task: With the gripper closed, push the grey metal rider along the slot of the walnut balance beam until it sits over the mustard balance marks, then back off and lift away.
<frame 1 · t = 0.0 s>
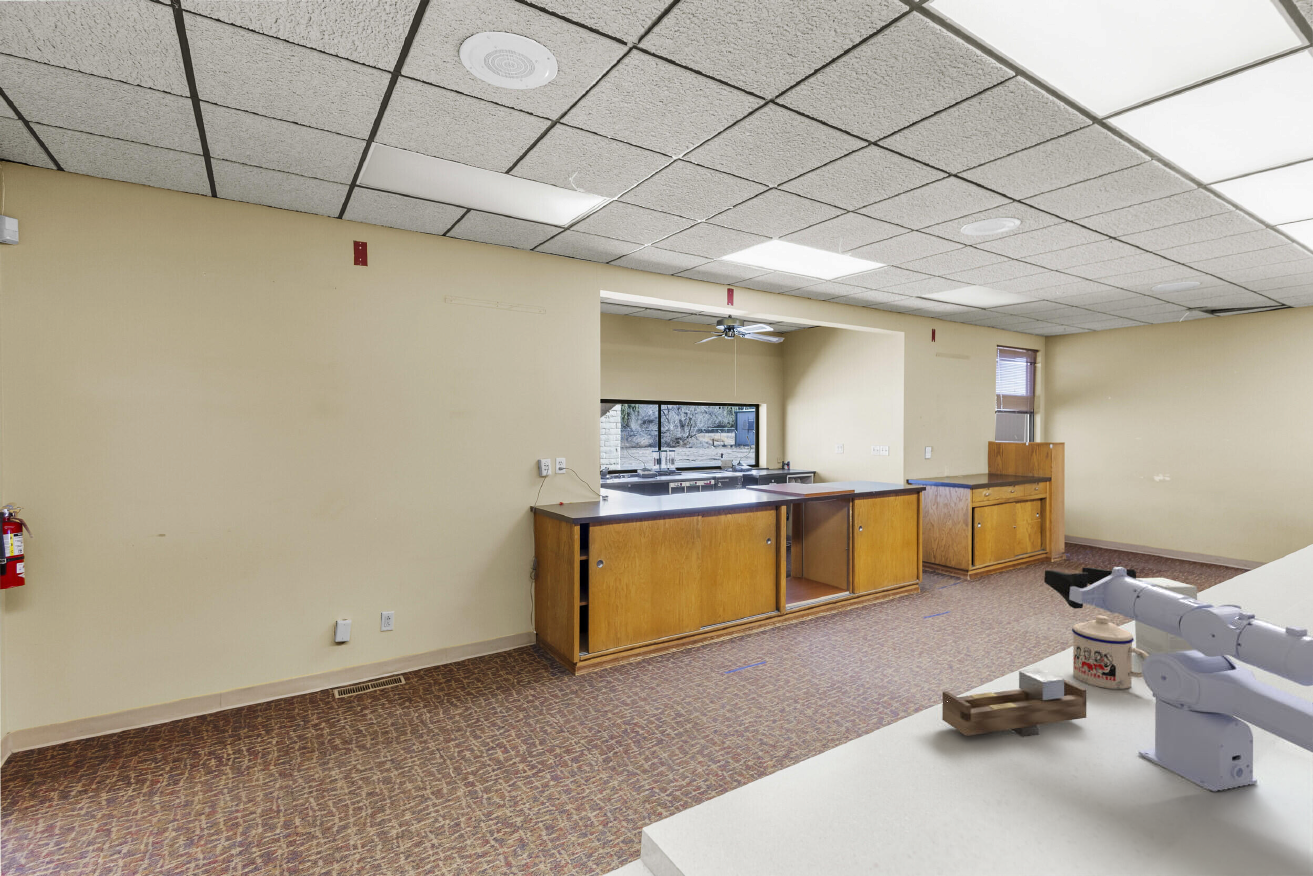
hand: (1065, 574, 101), 22 cm above the worktop, tool horizontal, fingers open, 7 cm apart
teacup with lid: (1110, 684, 110), on the worktop
rider: (1041, 688, 95), point 5 cm above the worktop, slide at -5.0 cm
skincare box: (1164, 660, 121), on the worktop
beam: (1014, 726, 94), on the worktop
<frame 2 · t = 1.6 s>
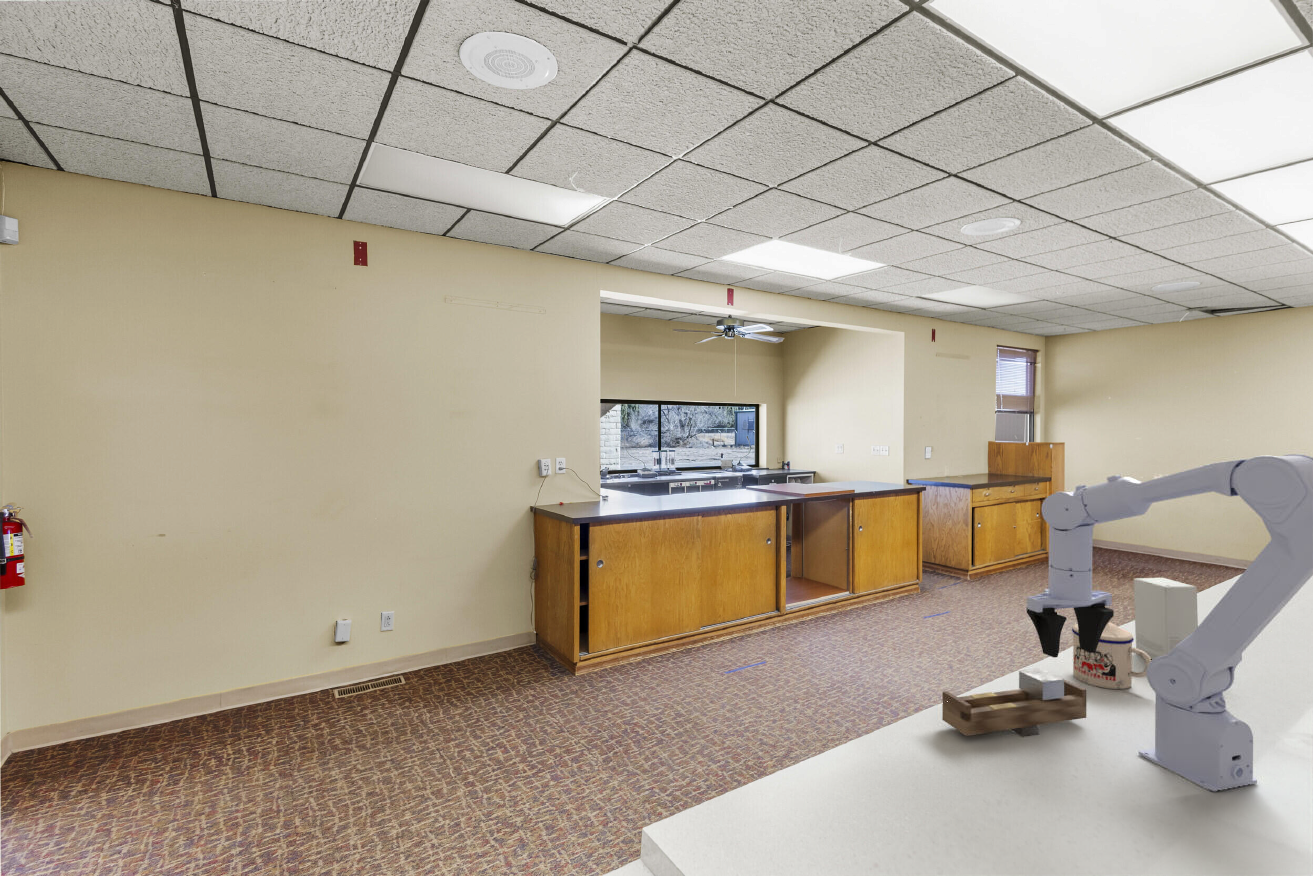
hand: (1069, 653, 97), 10 cm above the worktop, tool pointing down, fingers open, 7 cm apart
nothing on the worktop moved.
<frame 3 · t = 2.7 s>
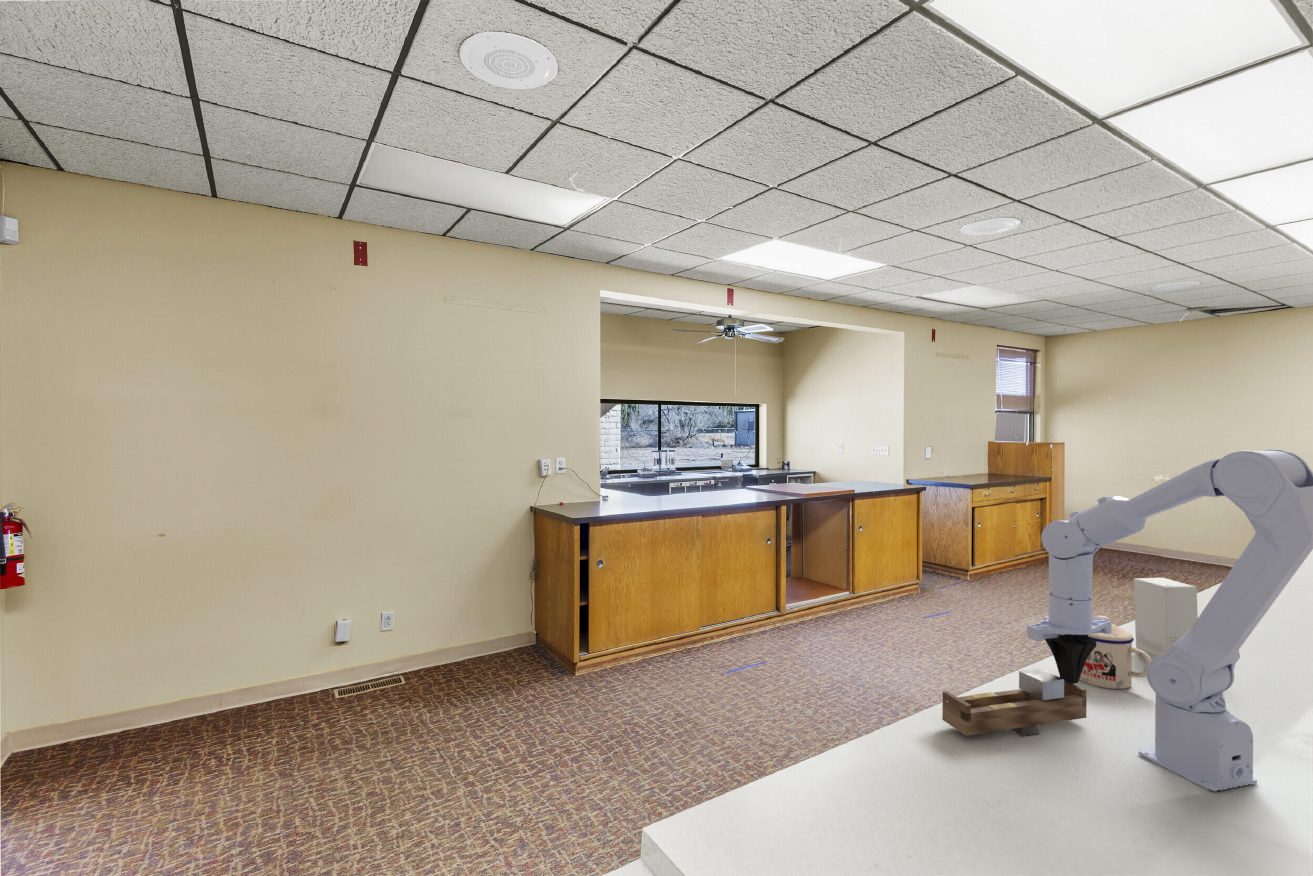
hand: (1069, 681, 97), 6 cm above the worktop, tool pointing down, fingers closed
nothing on the worktop moved.
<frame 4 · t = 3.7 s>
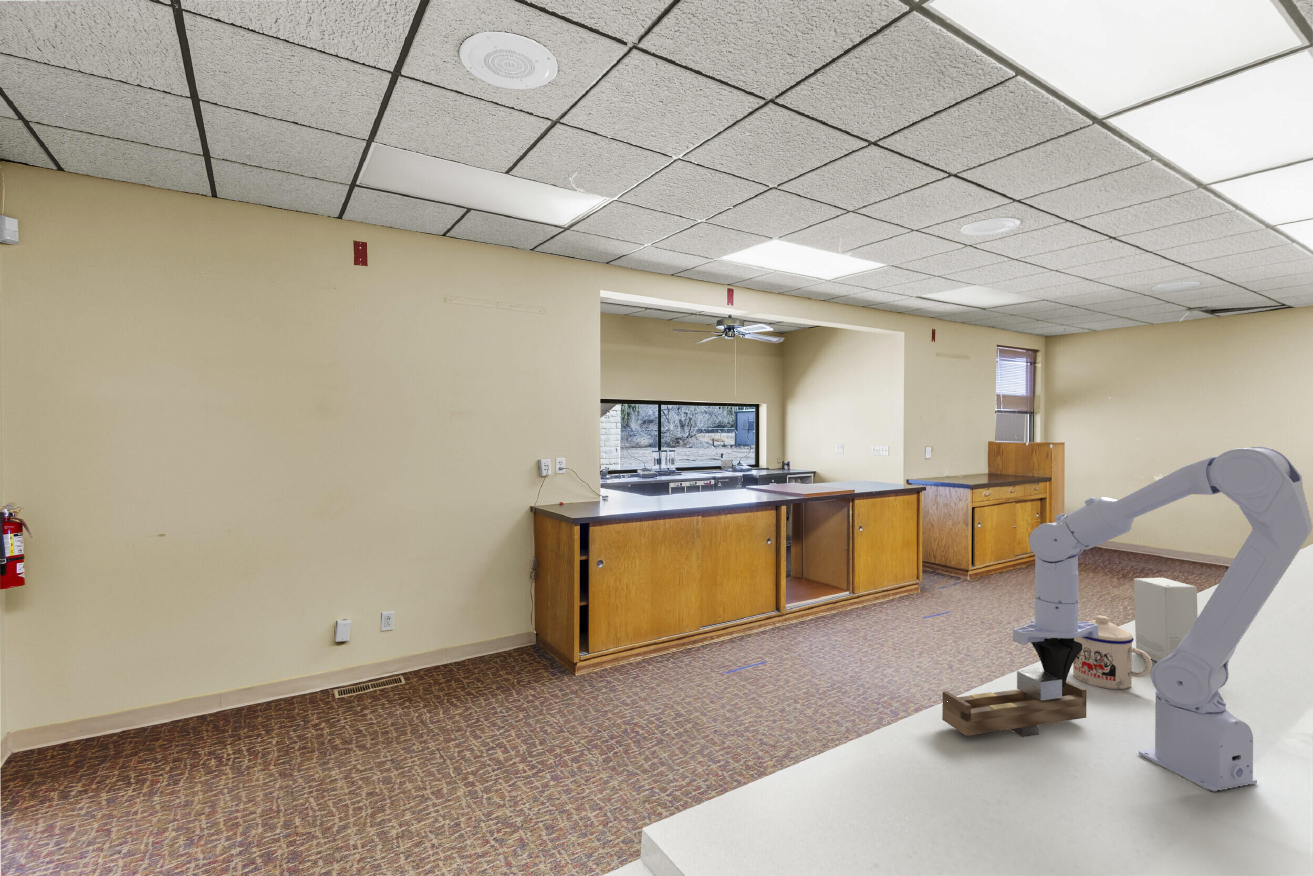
hand: (1055, 685, 96), 6 cm above the worktop, tool pointing down, fingers closed
rider: (1039, 688, 95), point 5 cm above the worktop, slide at -4.6 cm, touching gripper
everything else where it was.
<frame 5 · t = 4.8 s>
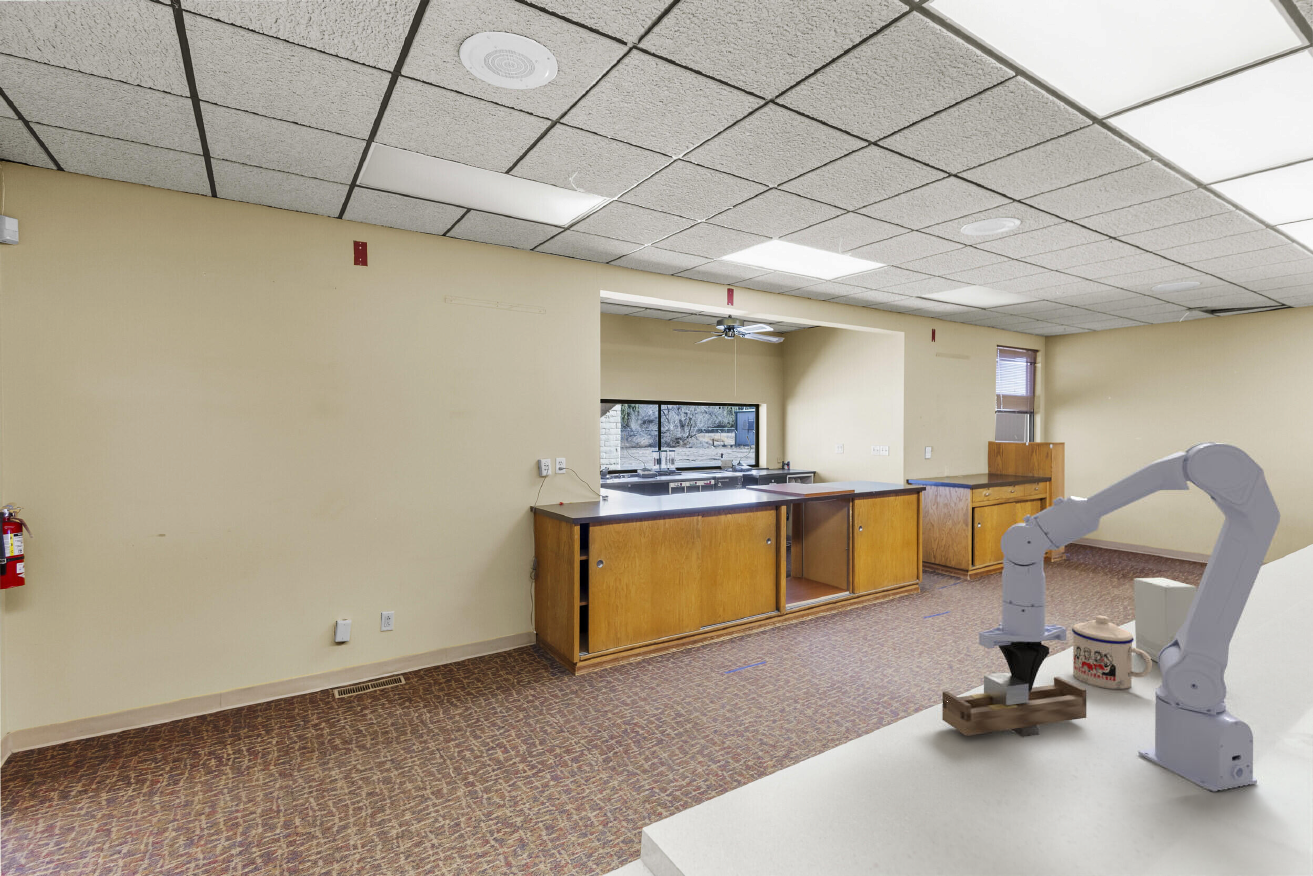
hand: (1022, 689, 94), 6 cm above the worktop, tool pointing down, fingers closed
rider: (1005, 693, 94), point 5 cm above the worktop, slide at 1.7 cm, touching gripper
everything else where it was.
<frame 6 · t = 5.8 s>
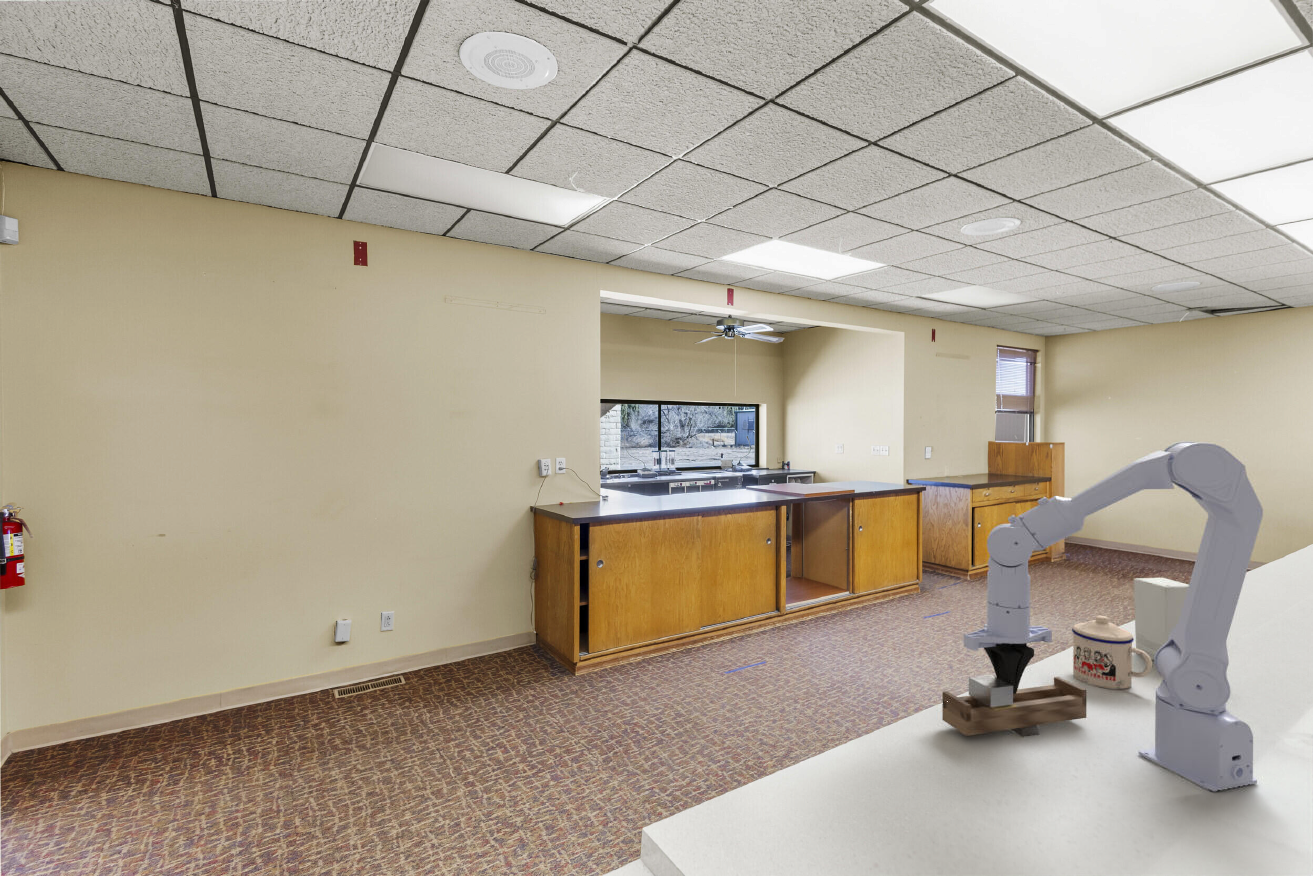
hand: (1007, 691, 94), 6 cm above the worktop, tool pointing down, fingers closed
rider: (990, 695, 93), point 5 cm above the worktop, slide at 4.5 cm, touching gripper
everything else where it was.
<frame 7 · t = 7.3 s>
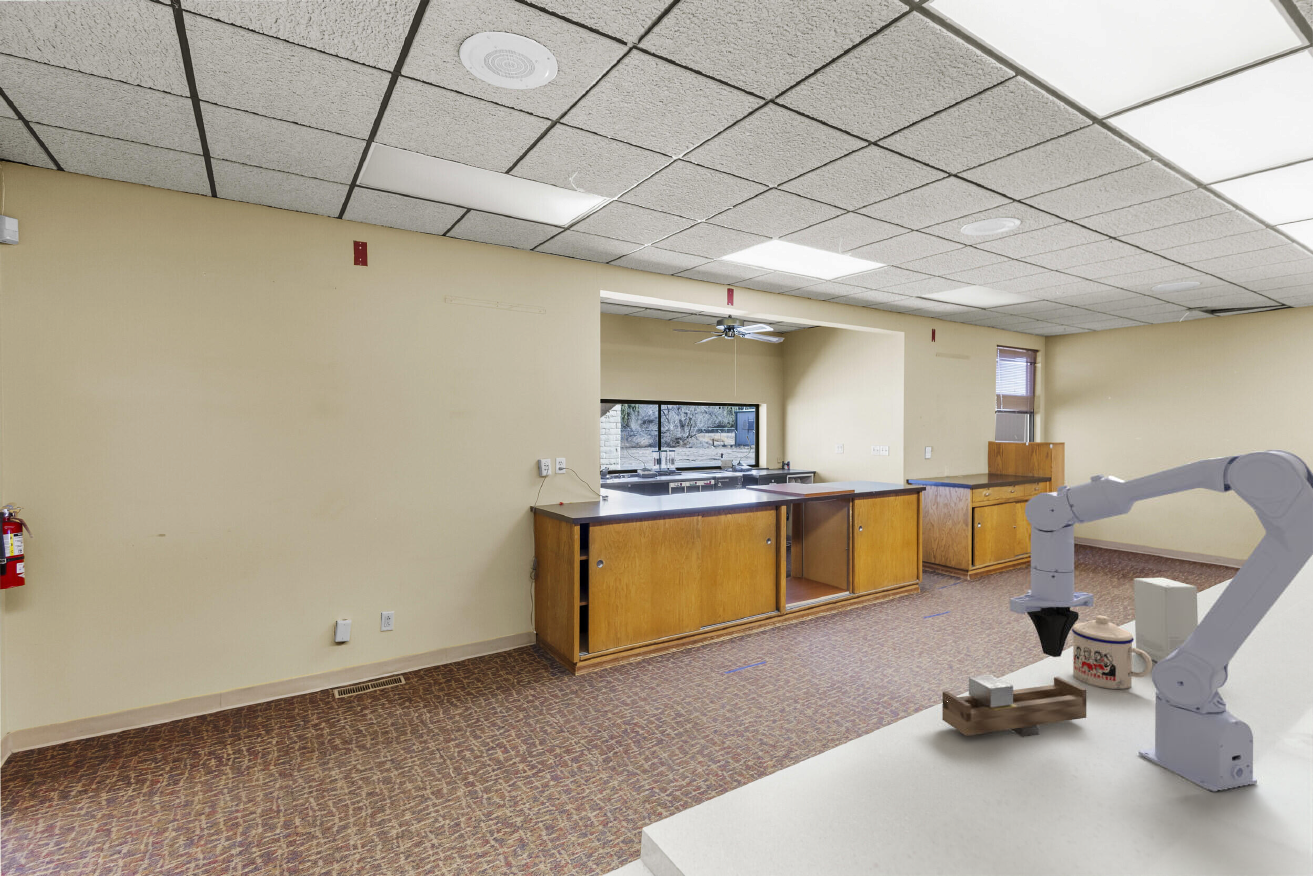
hand: (1051, 654, 96), 10 cm above the worktop, tool pointing down, fingers closed
rider: (990, 695, 93), point 5 cm above the worktop, slide at 4.5 cm
everything else where it was.
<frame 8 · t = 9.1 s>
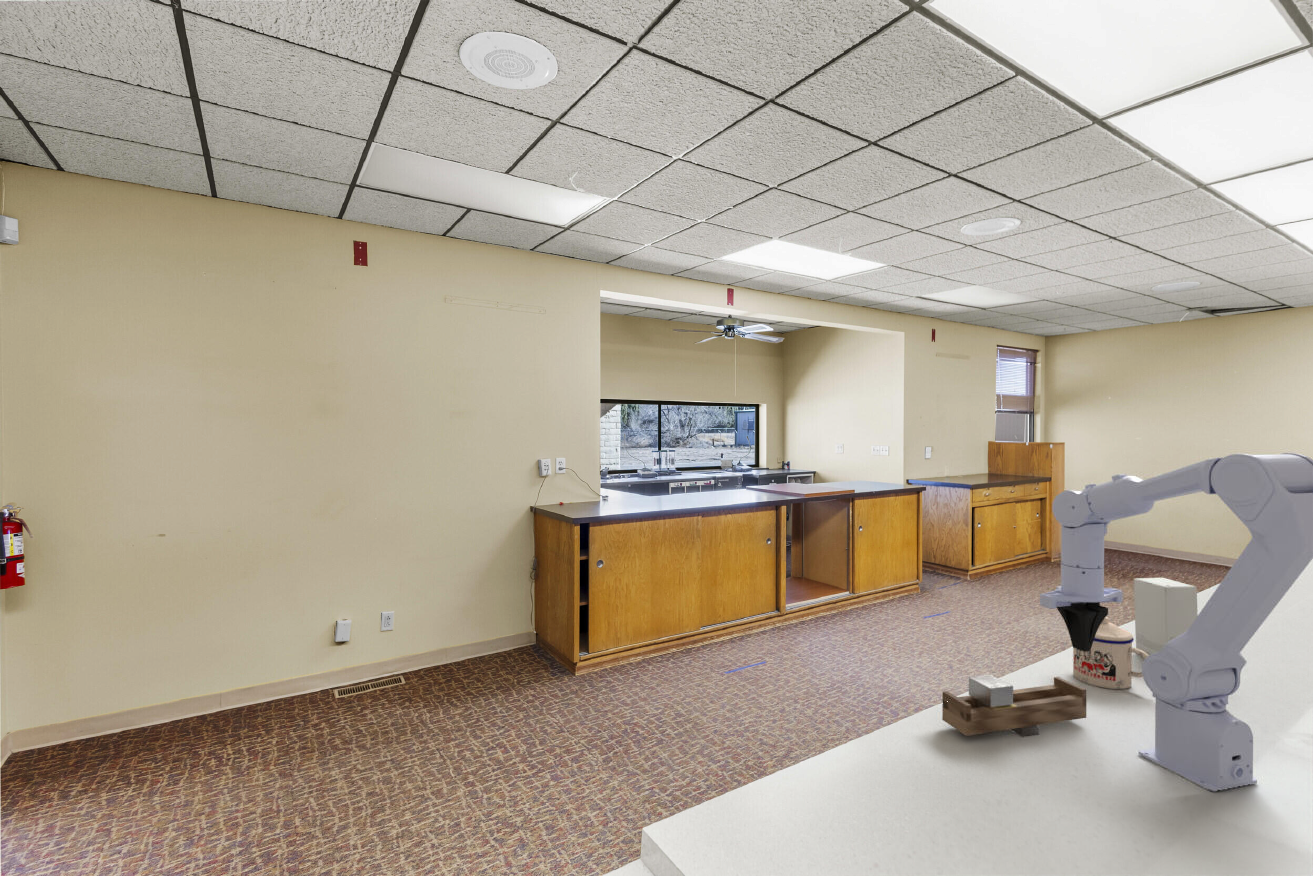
hand: (1081, 649, 98), 10 cm above the worktop, tool pointing down, fingers closed
nothing on the worktop moved.
at the end: rider slide at 4.5 cm; the gripper is holding nothing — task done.
